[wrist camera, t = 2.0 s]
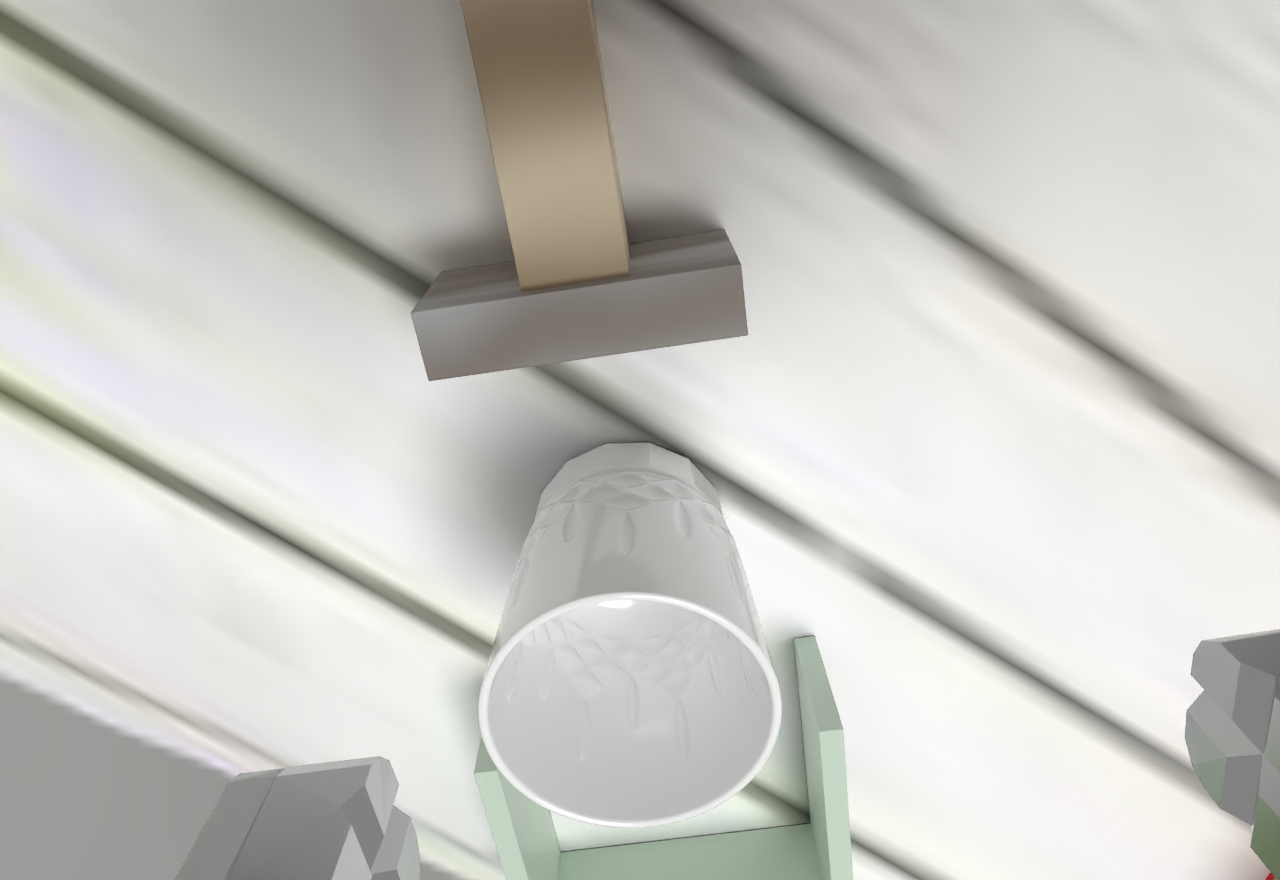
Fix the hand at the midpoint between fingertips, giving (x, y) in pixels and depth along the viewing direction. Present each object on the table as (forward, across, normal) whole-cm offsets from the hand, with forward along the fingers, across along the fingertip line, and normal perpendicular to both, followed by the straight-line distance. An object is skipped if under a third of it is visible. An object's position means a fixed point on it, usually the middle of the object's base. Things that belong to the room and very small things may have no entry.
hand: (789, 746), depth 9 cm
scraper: (+21, +3, -7) cm, 22 cm away
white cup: (+21, +3, +9) cm, 23 cm away
